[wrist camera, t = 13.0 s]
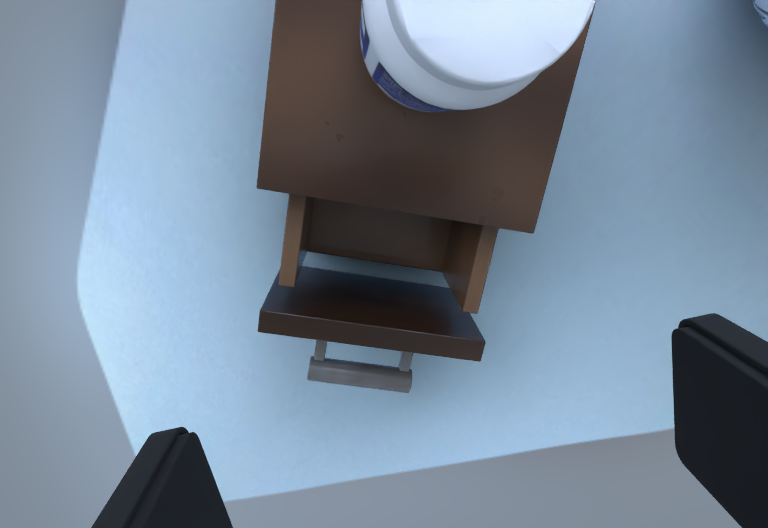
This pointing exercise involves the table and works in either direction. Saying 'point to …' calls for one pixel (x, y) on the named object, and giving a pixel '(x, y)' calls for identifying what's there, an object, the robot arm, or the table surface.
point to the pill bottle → (464, 47)
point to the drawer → (378, 289)
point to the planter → (762, 9)
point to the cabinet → (401, 130)
